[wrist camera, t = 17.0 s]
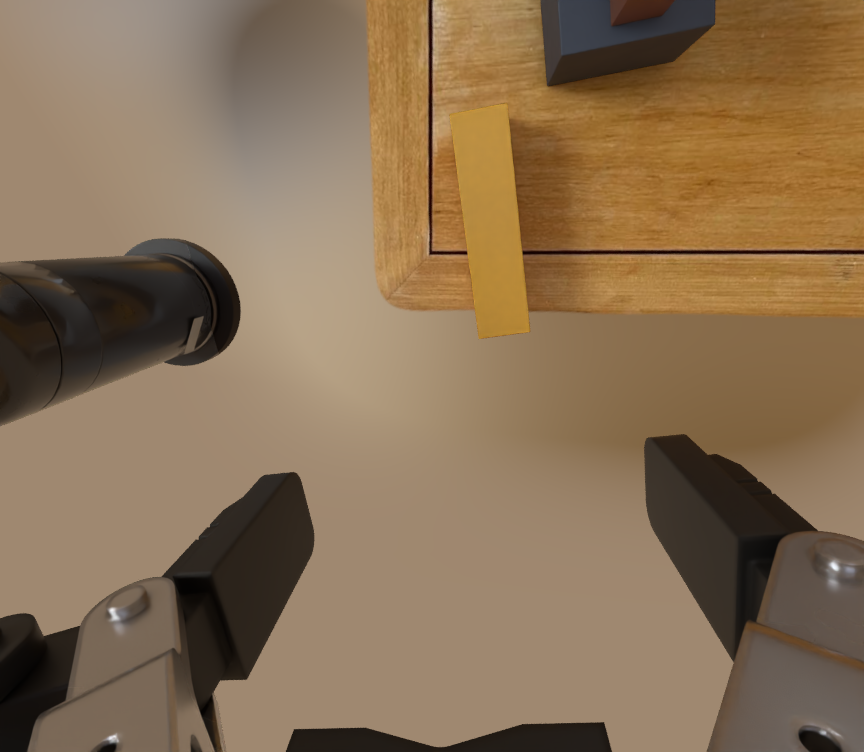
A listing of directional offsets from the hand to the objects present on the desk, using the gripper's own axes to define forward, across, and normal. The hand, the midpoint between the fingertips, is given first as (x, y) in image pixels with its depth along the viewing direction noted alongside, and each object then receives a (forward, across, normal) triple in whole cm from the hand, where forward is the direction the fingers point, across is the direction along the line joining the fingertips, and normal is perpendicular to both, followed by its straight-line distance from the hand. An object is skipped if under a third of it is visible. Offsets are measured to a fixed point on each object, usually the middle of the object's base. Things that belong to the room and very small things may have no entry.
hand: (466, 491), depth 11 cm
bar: (+30, -2, -6) cm, 31 cm away
